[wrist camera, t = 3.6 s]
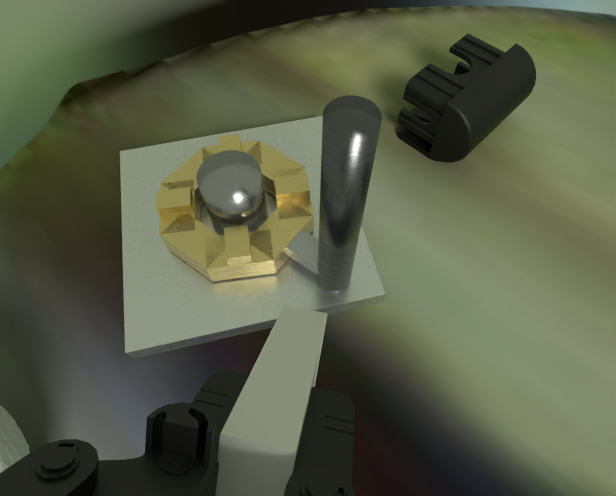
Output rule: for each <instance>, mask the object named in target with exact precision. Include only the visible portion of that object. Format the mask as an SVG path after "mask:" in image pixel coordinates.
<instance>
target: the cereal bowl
mask: <svg viewBox="0 0 616 496" xmlns="http://www.w3.org/2000/svg"><path fill="white" fill-rule="evenodd" d="M29 453H30V451H29V445H28V444H27V442H26V440H25V438H24V435H23V434H22V431H21V430H20V428H19V427H18V426H17V423H16V421H15V420H14V419H13V418H12V416H11V415H9V413H8V412H7V411H6V410H5V409H4V408H3V407H2V406H1V405H0V473H1V472H2V471H4V470H5V469H7V468H8V467H10V466H11V465H13V464H14V463H16V462H17V461H19V460H20V459H22V458H23V457H25V456H26V455H28V454H29Z"/></svg>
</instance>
